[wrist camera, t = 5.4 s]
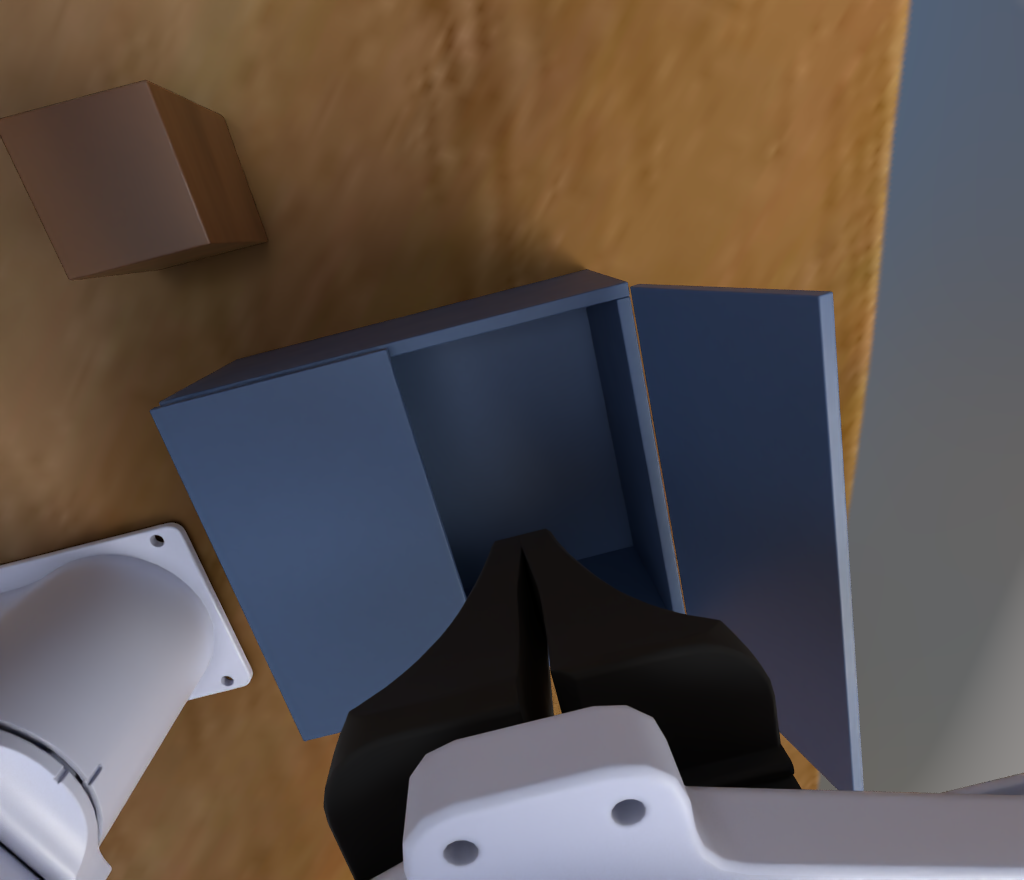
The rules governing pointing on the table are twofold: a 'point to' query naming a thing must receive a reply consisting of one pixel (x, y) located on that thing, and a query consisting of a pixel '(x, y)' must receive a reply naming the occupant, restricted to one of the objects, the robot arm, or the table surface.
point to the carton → (421, 476)
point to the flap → (761, 492)
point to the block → (132, 180)
